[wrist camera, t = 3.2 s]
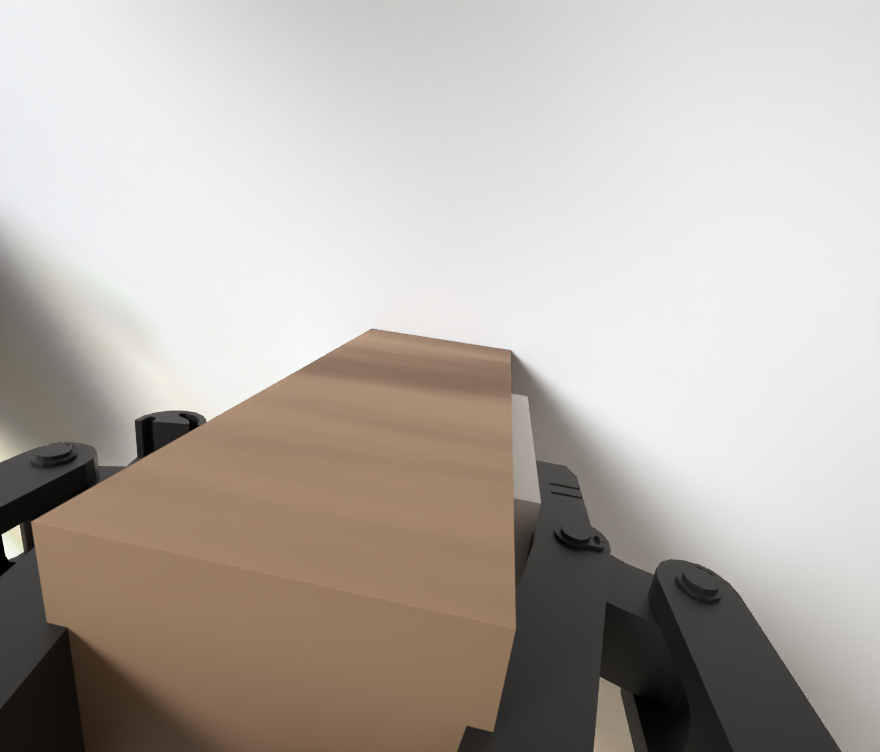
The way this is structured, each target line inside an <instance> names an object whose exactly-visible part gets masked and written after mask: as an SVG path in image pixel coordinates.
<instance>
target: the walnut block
mask: <svg viewBox="0 0 880 752" xmlns="http://www.w3.org/2000/svg"><path fill="white" fill-rule="evenodd" d="M31 525H32V531H33V538H34V544H35V550H36V557H37V563H38V569H39V576H40V582H41V588H42V595H43V601H44V607H45V614H46V620H47V623H51V624H55V625H59V626H63V627H67V628H68V635H69V642H70V649H71V656H72V663H73V670H74V677H75V684H76V691H77V698H78V705H79V712H80V719H81V726H82V733H83V740H84V747H85V752H457V750H458V748H459V745H460V742H461V740H462V737H463V734H464V731H465V729H466V726H471V727H475V728H479V729H483V730H487V731H491V732H493V731H494V726H495V722H496V717H497V713H498V708H499V704H500V699H501V695H502V690H503V686H504V681H505V676H506V672H507V667H508V663H509V658H510V654H511V649H512V645H513V640H514V636H515V631H516V608H515V553H514V498H513V443H512V388H511V350H505V349H499V348H492V347H486V346H479V345H473V344H466V343H460V342H454V341H447V340H441V339H434V338H428V337H421V336H415V335H408V334H402V333H396V332H389V331H383V330H376V329H370V330H369V331H367V332H365V333H363V334H362V335H360V336H358V337H356V338H355V339H353V340H351V341H349V342H347V343H346V344H344V345H342V346H340V347H339V348H337V349H335V350H333V351H332V352H330V353H328V354H326V355H325V356H323V357H321V358H319V359H317V360H316V361H314V362H312V363H310V364H309V365H307V366H305V367H303V368H302V369H300V370H298V371H296V372H295V373H293V374H291V375H289V376H287V377H286V378H284V379H282V380H280V381H279V382H277V383H275V384H273V385H272V386H270V387H268V388H266V389H265V390H263V391H261V392H259V393H257V394H256V395H254V396H252V397H250V398H249V399H247V400H245V401H243V402H242V403H240V404H238V405H236V406H235V407H233V408H231V409H229V410H227V411H226V412H224V413H222V414H220V415H219V416H217V417H215V418H213V419H212V420H210V421H208V422H206V423H205V424H203V425H201V426H199V427H197V428H196V429H194V430H192V431H190V432H189V433H187V434H185V435H183V436H182V437H180V438H178V439H176V440H175V441H173V442H171V443H169V444H167V445H166V446H164V447H162V448H160V449H159V450H157V451H155V452H153V453H152V454H150V455H148V456H146V457H145V458H143V459H141V460H139V461H137V462H136V463H134V464H132V465H130V466H129V467H127V468H125V469H123V470H122V471H120V472H118V473H116V474H115V475H113V476H111V477H109V478H107V479H106V480H104V481H102V482H100V483H99V484H97V485H95V486H93V487H92V488H90V489H88V490H86V491H85V492H83V493H81V494H79V495H77V496H76V497H74V498H72V499H70V500H69V501H67V502H65V503H63V504H62V505H60V506H58V507H56V508H55V509H53V510H51V511H49V512H47V513H46V514H44V515H42V516H40V517H39V518H37V519H35V520H33V521H32V522H31Z"/></svg>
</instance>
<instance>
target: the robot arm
mask: <svg viewBox="0 0 880 752" xmlns="http://www.w3.org/2000/svg"><path fill="white" fill-rule="evenodd" d="M205 423H206V419H205V418H204V417H203V416H202V415H200V414H198V413H195V412H189V411H164V412H156V413H152V414H149V415H145V416H142V417H140V418H138V419H136V420H135V429H136V442H137V456H138V457H137V458H136V459H135V460H133V461H132V462H131V463H130V464H129V465H128V466H127V467H129V466H130V465H132V464H134V463H136V462H137V461H139V460H141V459H143V458H145V457H146V456H148V455H150V454H152V453H153V452H155V451H157V450H159V449H160V448H162V447H164V446H166V445H167V444H169V443H171V442H173V441H175V440H176V439H178V438H180V437H182V436H183V435H185V434H187V433H189V432H190V431H192V430H194V429H196V428H197V427H199V426H201V425H203V424H205ZM512 443H513V498H514V553H515V608H516V631H515V636H514V640H513V645H512V649H511V654H510V658H509V663H508V667H507V672H506V676H505V681H504V686H503V690H502V695H501V699H500V704H499V708H498V713H497V717H496V722H495V726H494V731H493V732H491V731H487V730H483V729H479V728H475V727H471V726H466V729H465V731H464V734H463V737H462V740H461V742H460V745H459V748H458V750H457V752H593V748H594V737H595V725H596V713H597V702H598V690H599V678H600V677H602V678H604V679H606V680H607V681H609V682H611V683H613V684H615V685H617V686H619V687H621V696H622V700H623V704H624V708H625V713H626V717H627V721H628V725H629V729H630V734H631V738H632V742H633V746H634V751H635V752H841V750H840V749H839V747H838V746H837V744H836V743H835V741H834V740H833V738H832V737H831V735H830V733H829V732H828V730H827V729H826V727H825V726H824V724H823V723H822V721H821V720H820V718H819V717H818V715H817V713H816V712H815V710H814V709H813V707H812V706H811V704H810V703H809V701H808V700H807V698H806V697H805V695H804V693H803V692H802V690H801V689H800V687H799V686H798V684H797V683H796V681H795V680H794V678H793V677H792V675H791V673H790V672H789V670H788V669H787V667H786V666H785V664H784V663H783V661H782V660H781V658H780V657H779V655H778V653H777V652H776V650H775V649H774V647H773V646H772V644H771V643H770V641H769V640H768V638H767V637H766V635H765V633H764V632H763V630H762V629H761V627H760V626H759V624H758V623H757V621H756V620H755V618H754V617H753V615H752V614H751V612H750V610H749V609H748V607H747V606H746V604H745V603H744V601H743V600H742V598H741V597H740V595H739V594H738V593H737V592H736V590H735V589H734V588H733V587H732V586H731V585H730V584H729V583H728V582H727V581H725V580H724V579H722V578H721V577H720V576H718V575H717V574H716V573H714V572H713V571H711V570H709V569H706V568H705V567H703V566H701V565H698V564H694V563H690V562H687V561H683V560H672V559H671V560H667V561H663V562H661V563H660V564H659V566H658V567H657V568H656V571H655V574H654V575H653V574H650V573H648V572H645V571H643V570H640V569H638V568H635V567H633V566H630V565H628V564H626V563H624V562H622V561H620V560H618V559H617V558H615V557H614V556H612V555H610V546H609V542H608V541H607V539H606V538H605V537H604V536H603V535H602V533H600V532H599V531H597V530H596V529H595V528H593V527H592V526H591V524H590V521H589V518H588V514H587V511H586V507H585V504H584V501H583V500H582V494H581V491H580V487H579V484H578V480H577V477H576V476H575V475H574V474H573V473H572V472H571V471H570V470H569V469H568V468H567V467H566V466H561V465H556V464H550V463H545V462H539V461H536V459H535V451H534V443H533V435H532V427H531V419H530V411H529V403H528V396H524V395H518V394H512ZM127 467H115V466H98V459H97V451H96V450H95V449H94V447H92V446H89V445H86V444H79V443H73V442H64V443H63V444H62V442H61V443H53V444H51V445H48V446H43V447H39V448H36V449H33V450H30V451H27V452H24V453H22V454H19V455H17V456H15V457H12V458H10V459H8V460H5V461H3V462H1V463H0V752H85V747H84V740H83V733H82V726H81V719H80V712H79V705H78V698H77V691H76V684H75V677H74V670H73V663H72V656H71V649H70V642H69V635H68V628H67V627H63V626H59V625H55V624H51V623H47V620H46V614H45V607H44V601H43V595H42V588H41V582H40V576H39V569H38V563H37V557H36V550H35V544H34V538H33V531H32V525H31V522H32V521H33V520H35V519H37V518H39V517H40V516H42V515H44V514H46V513H47V512H49V511H51V510H53V509H55V508H56V507H58V506H60V505H62V504H63V503H65V502H67V501H69V500H70V499H72V498H74V497H76V496H77V495H79V494H81V493H83V492H85V491H86V490H88V489H90V488H92V487H93V486H95V485H97V484H99V483H100V482H102V481H104V480H106V479H107V478H109V477H111V476H113V475H115V474H116V473H118V472H120V471H122V470H123V469H125V468H127ZM19 524H20V530H21V536H22V542H23V548H24V552H23V553H21V554H20V555H18V556H17V557H14V558H12V559H9V560H8V559H7V558H6V556H5V552H4V546H3V541H2V535H1V534H3V533H5V532H7V531H9V530H10V529H12V528H14V527H16V526H17V525H19Z"/></svg>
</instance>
